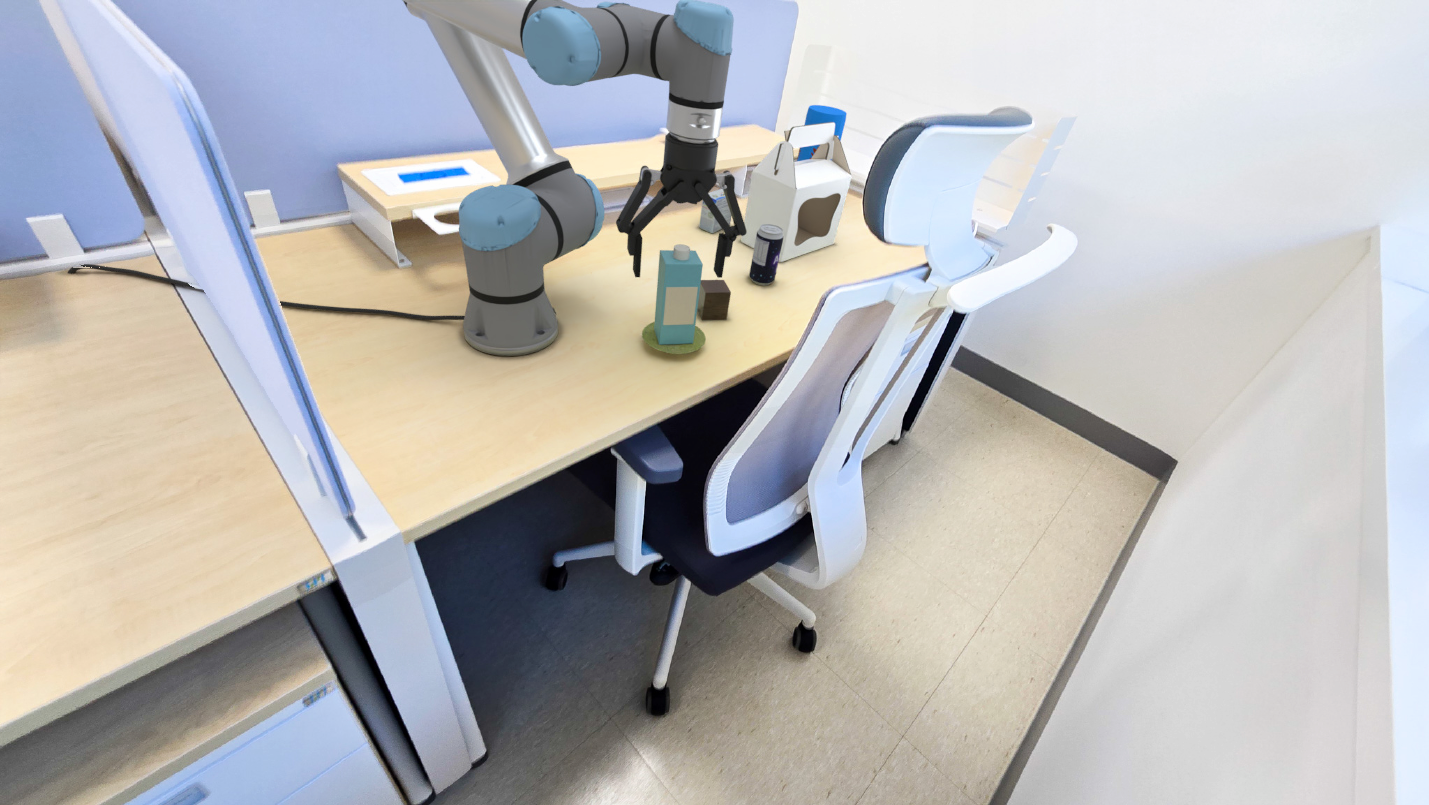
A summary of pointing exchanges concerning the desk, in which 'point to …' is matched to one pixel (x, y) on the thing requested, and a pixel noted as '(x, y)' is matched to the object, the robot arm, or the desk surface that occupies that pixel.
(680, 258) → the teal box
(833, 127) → the gable box
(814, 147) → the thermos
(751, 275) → the beverage can
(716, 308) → the walnut block
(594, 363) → the desk surface
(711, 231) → the medicine box
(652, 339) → the green disc
